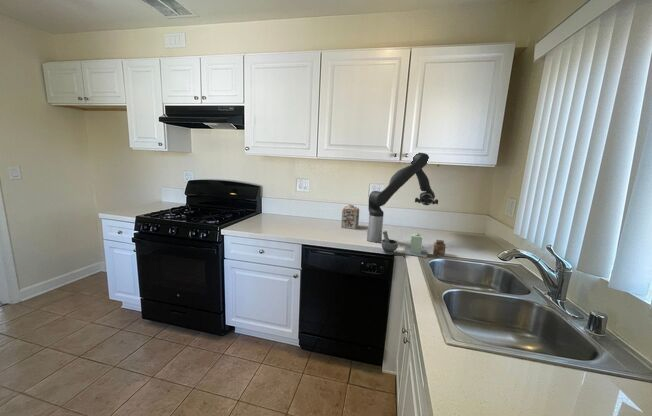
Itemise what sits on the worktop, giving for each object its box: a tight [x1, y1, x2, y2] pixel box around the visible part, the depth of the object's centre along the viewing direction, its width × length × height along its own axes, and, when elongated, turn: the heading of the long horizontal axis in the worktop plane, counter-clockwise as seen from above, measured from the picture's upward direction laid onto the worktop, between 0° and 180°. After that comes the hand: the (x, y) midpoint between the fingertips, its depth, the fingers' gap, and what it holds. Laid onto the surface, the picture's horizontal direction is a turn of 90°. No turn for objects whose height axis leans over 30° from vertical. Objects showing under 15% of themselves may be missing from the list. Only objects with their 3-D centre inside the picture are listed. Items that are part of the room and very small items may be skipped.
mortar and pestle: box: [380, 230, 399, 255], centre depth 159 cm, size 11×9×12 cm
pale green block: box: [409, 232, 424, 254], centre depth 160 cm, size 6×6×11 cm
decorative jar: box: [340, 203, 360, 230], centre depth 215 cm, size 12×12×18 cm
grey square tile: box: [402, 246, 428, 259], centre depth 161 cm, size 13×13×1 cm
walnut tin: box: [432, 239, 447, 257], centre depth 160 cm, size 6×6×8 cm
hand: (426, 202), depth 173 cm, fingers open, 8 cm apart
